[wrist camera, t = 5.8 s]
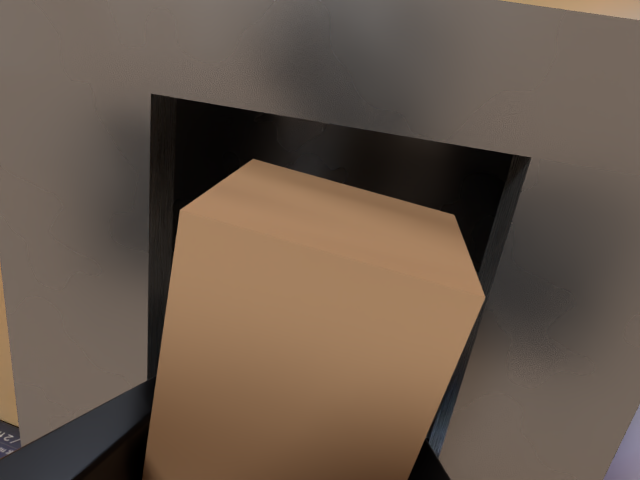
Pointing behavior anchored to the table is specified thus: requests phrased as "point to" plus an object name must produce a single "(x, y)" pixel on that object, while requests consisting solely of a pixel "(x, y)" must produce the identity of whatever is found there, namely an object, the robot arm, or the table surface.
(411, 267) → the tan rectangular block
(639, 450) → the table surface
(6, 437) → the small box
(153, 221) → the grey slotted block
